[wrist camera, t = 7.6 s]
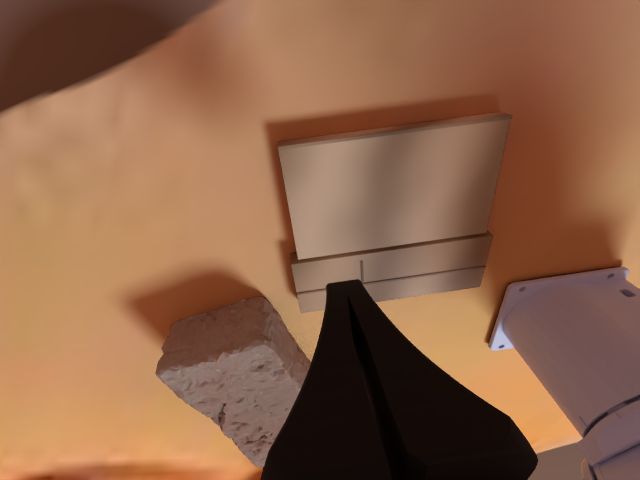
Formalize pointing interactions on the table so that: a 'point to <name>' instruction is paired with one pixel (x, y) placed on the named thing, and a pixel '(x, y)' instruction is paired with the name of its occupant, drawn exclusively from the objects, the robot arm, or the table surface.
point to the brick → (236, 371)
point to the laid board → (395, 269)
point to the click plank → (393, 183)
